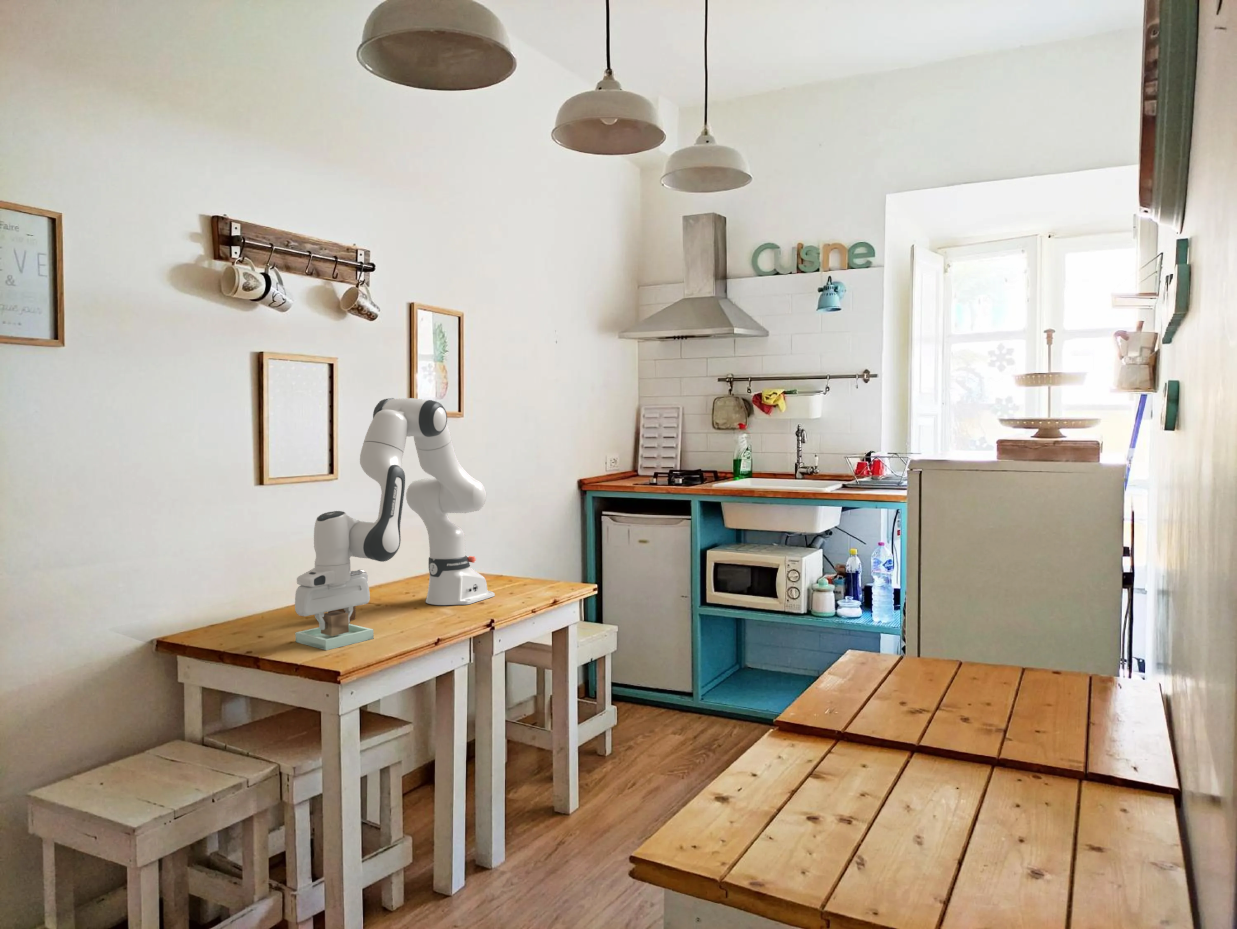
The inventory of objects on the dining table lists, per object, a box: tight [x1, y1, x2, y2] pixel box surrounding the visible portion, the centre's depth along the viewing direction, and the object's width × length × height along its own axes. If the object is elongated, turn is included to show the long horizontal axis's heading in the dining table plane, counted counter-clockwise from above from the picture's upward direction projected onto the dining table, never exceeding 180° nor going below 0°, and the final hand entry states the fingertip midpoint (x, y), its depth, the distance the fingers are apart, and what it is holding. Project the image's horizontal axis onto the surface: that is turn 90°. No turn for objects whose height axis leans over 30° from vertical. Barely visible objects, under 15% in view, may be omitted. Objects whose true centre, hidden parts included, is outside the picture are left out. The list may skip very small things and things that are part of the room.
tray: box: [294, 623, 375, 651], centre depth 224 cm, size 14×14×2 cm
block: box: [321, 611, 350, 636], centre depth 224 cm, size 5×5×5 cm
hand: (334, 626), depth 224 cm, fingers closed on block, 5 cm apart
